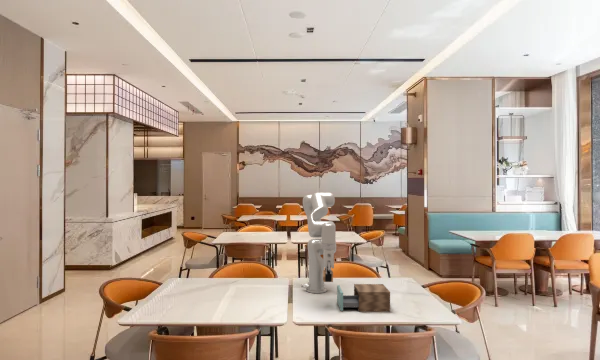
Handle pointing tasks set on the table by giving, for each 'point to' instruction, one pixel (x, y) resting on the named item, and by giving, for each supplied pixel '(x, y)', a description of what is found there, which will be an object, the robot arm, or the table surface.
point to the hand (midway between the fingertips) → (327, 279)
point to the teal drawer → (346, 299)
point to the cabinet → (372, 297)
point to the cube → (324, 275)
